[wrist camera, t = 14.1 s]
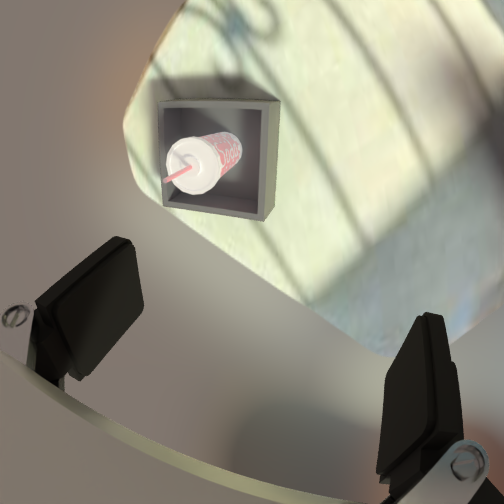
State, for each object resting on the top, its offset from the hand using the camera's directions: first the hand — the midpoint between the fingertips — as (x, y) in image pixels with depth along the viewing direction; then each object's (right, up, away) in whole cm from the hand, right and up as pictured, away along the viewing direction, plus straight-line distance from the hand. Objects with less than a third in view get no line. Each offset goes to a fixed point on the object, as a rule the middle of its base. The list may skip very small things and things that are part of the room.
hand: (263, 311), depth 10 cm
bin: (-4, +15, +30) cm, 34 cm away
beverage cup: (-4, +15, +29) cm, 33 cm away
